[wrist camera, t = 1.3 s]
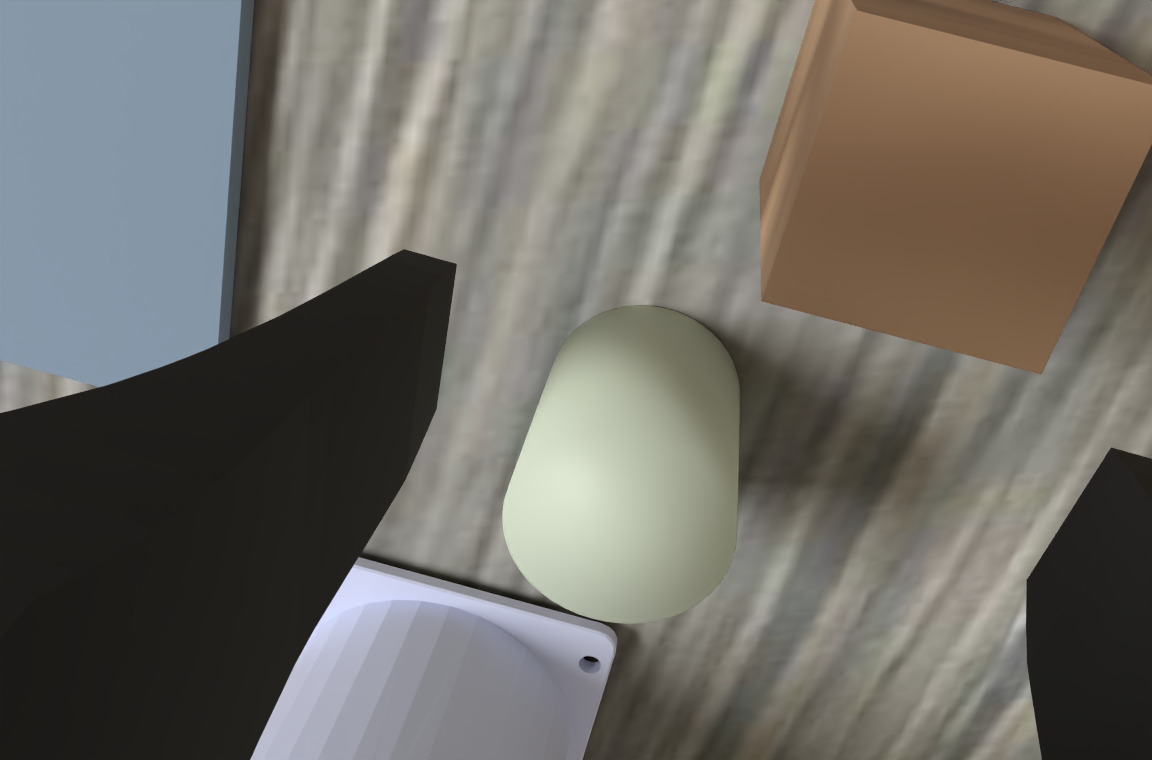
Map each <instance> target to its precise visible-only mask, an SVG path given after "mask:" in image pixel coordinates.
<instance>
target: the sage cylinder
mask: <svg viewBox="0 0 1152 760" xmlns="http://www.w3.org/2000/svg"><path fill="white" fill-rule="evenodd" d="M739 425H740V384H739V379H738V374H737V371H736V368H735V365H734V363H733V361H732V359H731V357H730V355H729V353H728V351H727V350H726V349H725V347H724V346H723V344H722V343H721V342H720V341H719V340H718V339H717V338H716V336H715V335H714V334H713V333H712V332H710V331H709V330H708V329H707V328H705V327H704V326H703V325H702V324H700V323H698V322H697V321H695V320H694V319H692V318H690V317H688V316H686V315H683V314H681V313H679V312H676V311H672V310H669V309H665V308H660V307H655V306H627V307H621V308H616V309H613V310H609V311H606V312H603V313H601V314H599V315H597V316H594V317H593V318H591V319H589V320H588V321H586V322H584V323H583V324H582V325H581V326H579V327H578V328H577V329H576V330H575V331H573V333H572V334H571V335H570V336H569V337H568V338H567V339H566V341H565V342H564V344H563V345H562V346H561V348H560V350H559V352H558V354H557V356H556V358H555V360H554V363H553V366H552V369H551V371H550V374H549V377H548V380H547V382H546V385H545V388H544V391H543V393H542V396H541V399H540V402H539V404H538V407H537V410H536V413H535V415H534V418H533V421H532V424H531V426H530V429H529V432H528V435H527V437H526V440H525V443H524V446H523V448H522V451H521V454H520V457H519V459H518V462H517V465H516V467H515V470H514V473H513V476H512V478H511V481H510V484H509V487H508V490H507V493H506V496H505V499H504V505H503V513H502V515H503V530H504V536H505V540H506V543H507V546H508V549H509V552H510V554H511V556H512V558H513V560H514V562H515V563H516V565H517V566H518V568H519V569H520V571H521V572H522V574H523V575H524V576H525V577H526V578H527V579H528V581H529V582H530V583H531V584H532V585H533V586H534V587H535V588H536V589H538V590H539V591H540V592H541V593H542V594H543V595H545V596H546V597H548V598H549V599H550V600H552V601H553V602H555V603H557V604H558V605H560V606H562V607H564V608H565V609H568V610H570V611H572V612H575V613H577V614H579V615H582V616H586V617H589V618H592V619H596V620H601V621H606V622H613V623H645V622H653V621H657V620H662V619H666V618H669V617H672V616H675V615H678V614H680V613H682V612H684V611H686V610H688V609H690V608H692V607H693V606H695V605H696V604H698V603H700V602H701V601H702V600H704V599H705V598H706V597H707V596H708V595H710V594H711V593H712V592H713V591H714V589H715V588H716V587H717V586H718V585H719V584H720V583H721V581H722V580H723V578H724V576H725V575H726V573H727V572H728V570H729V567H730V565H731V563H732V561H733V557H734V553H735V550H736V542H737V520H738V472H739Z"/></svg>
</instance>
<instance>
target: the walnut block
mask: <svg viewBox="0 0 1152 760" xmlns="http://www.w3.org/2000/svg"><path fill="white" fill-rule="evenodd" d="M1151 145H1152V76H1151V75H1150V74H1148V73H1146V72H1145V71H1143V70H1142V69H1140V68H1138V67H1137V66H1135V65H1133V64H1132V63H1130V62H1129V61H1127V60H1125V59H1124V58H1122V57H1120V56H1119V55H1117V54H1115V53H1114V52H1112V51H1111V50H1109V49H1107V48H1106V47H1104V46H1102V45H1101V44H1099V43H1097V42H1096V41H1094V40H1093V39H1091V38H1089V37H1088V36H1086V35H1084V34H1083V33H1081V32H1080V31H1078V30H1076V29H1075V28H1073V27H1071V26H1070V25H1068V24H1066V23H1065V22H1063V21H1062V20H1060V19H1058V18H1057V17H1053V16H1049V15H1045V14H1041V13H1037V12H1033V11H1029V10H1025V9H1021V8H1017V7H1013V6H1009V5H1005V4H1001V3H997V2H993V1H989V0H815V3H814V6H813V9H812V13H811V16H810V19H809V22H808V26H807V29H806V32H805V35H804V39H803V42H802V45H801V48H800V51H799V55H798V58H797V61H796V64H795V68H794V71H793V74H792V77H791V81H790V84H789V87H788V90H787V93H786V97H785V100H784V103H783V106H782V110H781V113H780V116H779V119H778V123H777V126H776V129H775V132H774V135H773V139H772V142H771V145H770V148H769V152H768V155H767V158H766V161H765V165H764V168H763V171H762V174H761V177H760V236H761V301H763V302H767V303H771V304H774V305H778V306H782V307H786V308H790V309H793V310H797V311H801V312H805V313H809V314H813V315H816V316H820V317H824V318H828V319H832V320H835V321H839V322H843V323H847V324H851V325H855V326H858V327H862V328H866V329H870V330H874V331H878V332H881V333H885V334H889V335H893V336H897V337H900V338H904V339H908V340H912V341H916V342H920V343H923V344H927V345H931V346H935V347H939V348H943V349H946V350H950V351H954V352H958V353H962V354H965V355H969V356H973V357H977V358H981V359H985V360H988V361H992V362H996V363H1000V364H1004V365H1008V366H1011V367H1015V368H1019V369H1023V370H1027V371H1030V372H1034V373H1038V374H1042V372H1043V370H1044V368H1045V366H1046V364H1047V362H1048V359H1049V357H1050V355H1051V353H1052V351H1053V349H1054V347H1055V345H1056V343H1057V341H1058V339H1059V337H1060V334H1061V332H1062V330H1063V328H1064V326H1065V324H1066V322H1067V320H1068V318H1069V316H1070V314H1071V312H1072V310H1073V307H1074V305H1075V303H1076V301H1077V299H1078V297H1079V295H1080V293H1081V291H1082V289H1083V287H1084V285H1085V282H1086V280H1087V278H1088V276H1089V274H1090V272H1091V270H1092V268H1093V266H1094V264H1095V262H1096V260H1097V257H1098V255H1099V253H1100V251H1101V249H1102V247H1103V245H1104V243H1105V241H1106V239H1107V237H1108V235H1109V233H1110V230H1111V228H1112V226H1113V224H1114V222H1115V220H1116V218H1117V216H1118V214H1119V212H1120V210H1121V208H1122V205H1123V203H1124V201H1125V199H1126V197H1127V195H1128V193H1129V191H1130V189H1131V187H1132V185H1133V183H1134V180H1135V178H1136V176H1137V174H1138V172H1139V170H1140V168H1141V166H1142V164H1143V162H1144V160H1145V158H1146V155H1147V153H1148V151H1149V149H1150V147H1151Z"/></svg>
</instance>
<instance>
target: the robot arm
mask: <svg viewBox="0 0 1152 760" xmlns="http://www.w3.org/2000/svg"><path fill="white" fill-rule="evenodd" d="M456 266H457V264H455V263H451V262H448V261H444V260H440V259H437V258H433V257H430V256H426V255H423V254H419V253H415V252H412V251H408V250H405V249H404V250H402V251H400V252H398V253H396V254H394V255H392V256H390V257H388V258H386V259H385V260H383V261H381V262H379V263H377V264H375V265H374V266H372V267H370V268H368V269H366V270H364V271H363V272H361V273H359V274H357V275H355V276H354V277H352V278H350V279H348V280H346V281H344V282H343V283H341V284H339V285H337V286H335V287H334V288H332V289H330V290H328V291H326V292H324V293H323V294H321V295H319V296H317V297H315V298H313V299H311V300H309V301H307V302H305V303H304V304H302V305H300V306H298V307H296V308H294V309H292V310H290V311H288V312H286V313H284V314H282V315H280V316H278V317H276V318H274V319H272V320H270V321H268V322H265V323H263V324H261V325H259V326H257V327H254V328H252V329H250V330H248V331H246V332H243V333H241V334H239V335H237V336H235V337H232V338H230V339H228V340H226V341H224V342H221V343H219V344H217V345H215V346H213V347H210V348H208V349H206V350H204V351H201V352H199V353H196V354H194V355H191V356H189V357H186V358H184V359H181V360H178V361H176V362H173V363H170V364H168V365H165V366H162V367H160V368H157V369H154V370H151V371H148V372H145V373H142V374H139V375H136V376H133V377H130V378H127V379H124V380H121V381H118V382H115V383H112V384H109V385H106V386H102V387H99V388H95V389H92V390H88V391H84V392H80V393H77V394H73V395H69V396H65V397H61V398H58V399H54V400H50V401H46V402H42V403H39V404H35V405H31V406H27V407H23V408H20V409H16V410H12V411H8V412H3V413H0V760H583V756H584V753H585V750H586V747H587V743H588V740H589V737H590V734H591V731H592V727H593V724H594V721H595V718H596V714H597V711H598V708H599V705H600V702H601V698H602V695H603V692H604V689H605V686H606V682H607V679H608V676H609V673H610V669H611V666H612V663H613V660H614V657H615V653H616V648H617V637H616V634H615V632H614V631H613V630H612V629H611V628H610V627H609V626H606V625H604V624H602V623H599V622H595V621H591V620H588V619H584V618H580V617H577V616H573V615H569V614H566V613H562V612H558V611H555V610H551V609H547V608H544V607H540V606H536V605H533V604H529V603H525V602H522V601H518V600H514V599H511V598H507V597H503V596H500V595H496V594H492V593H488V592H485V591H481V590H477V589H474V588H470V587H466V586H463V585H459V584H455V583H452V582H448V581H444V580H441V579H437V578H433V577H430V576H426V575H422V574H419V573H415V572H411V571H408V570H404V569H400V568H397V567H393V566H389V565H386V564H382V563H378V562H375V561H371V560H367V559H364V558H360V557H359V556H360V554H361V553H362V551H363V549H364V548H365V546H366V544H367V543H368V541H369V539H370V538H371V536H372V535H373V533H374V531H375V530H376V528H377V526H378V525H379V523H380V521H381V520H382V518H383V516H384V515H385V513H386V511H387V510H388V508H389V506H390V505H391V503H392V502H393V500H394V498H395V497H396V495H397V493H398V491H399V490H400V488H401V486H402V485H403V483H404V481H405V479H406V477H407V475H408V473H409V471H410V468H411V466H412V464H413V462H414V459H415V457H416V455H417V453H418V451H419V448H420V446H421V444H422V441H423V439H424V437H425V434H426V432H427V430H428V427H429V425H430V423H431V420H432V418H433V416H434V413H435V411H436V408H437V401H438V394H439V387H440V380H441V372H442V365H443V358H444V351H445V344H446V337H447V330H448V323H449V316H450V309H451V302H452V295H453V288H454V280H455V273H456ZM1026 636H1027V665H1028V673H1029V680H1030V687H1031V693H1032V700H1033V706H1034V712H1035V719H1036V725H1037V732H1038V738H1039V744H1040V749H1041V755H1042V760H1152V459H1150V458H1147V457H1143V456H1139V455H1136V454H1132V453H1129V452H1125V451H1122V450H1118V449H1115V448H1111V449H1110V450H1109V452H1108V453H1107V455H1106V457H1105V458H1104V460H1103V461H1102V463H1101V464H1100V466H1099V468H1098V469H1097V471H1096V472H1095V474H1094V475H1093V477H1092V479H1091V480H1090V482H1089V483H1088V485H1087V486H1086V488H1085V489H1084V491H1083V493H1082V494H1081V496H1080V497H1079V499H1078V500H1077V502H1076V504H1075V505H1074V507H1073V508H1072V510H1071V511H1070V513H1069V515H1068V516H1067V518H1066V519H1065V521H1064V522H1063V524H1062V526H1061V527H1060V529H1059V530H1058V532H1057V533H1056V535H1055V537H1054V538H1053V540H1052V541H1051V543H1050V544H1049V546H1048V548H1047V549H1046V551H1045V552H1044V554H1043V555H1042V557H1041V559H1040V560H1039V562H1038V563H1037V565H1036V566H1035V568H1034V570H1033V571H1032V573H1031V574H1030V576H1029V577H1028V579H1027V602H1026ZM585 656H593V657H595V658H597V659H598V660H599V661H597V662H589V661H587V660H585V659H584V658H583V657H585Z"/></svg>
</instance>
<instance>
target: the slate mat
mask: <svg viewBox="0 0 1152 760" xmlns="http://www.w3.org/2000/svg"><path fill="white" fill-rule="evenodd" d="M254 1H255V0H0V360H2V361H6V362H9V363H13V364H17V365H21V366H24V367H28V368H32V369H35V370H39V371H43V372H46V373H50V374H54V375H58V376H61V377H65V378H69V379H72V380H76V381H80V382H84V383H87V384H91V385H95V386H98V387H102V386H106V385H109V384H112V383H115V382H118V381H121V380H124V379H127V378H130V377H133V376H136V375H139V374H142V373H145V372H148V371H151V370H154V369H157V368H160V367H162V366H165V365H168V364H170V363H173V362H176V361H178V360H181V359H184V358H186V357H189V356H191V355H194V354H196V353H199V352H201V351H204V350H206V349H208V348H210V347H213V346H215V345H217V344H219V343H221V342H224V341H226V340H228V339H230V326H231V313H232V299H233V286H234V272H235V259H236V245H237V231H238V218H239V204H240V191H241V177H242V163H243V150H244V136H245V123H246V109H247V96H248V82H249V68H250V55H251V41H252V28H253V14H254Z"/></svg>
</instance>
